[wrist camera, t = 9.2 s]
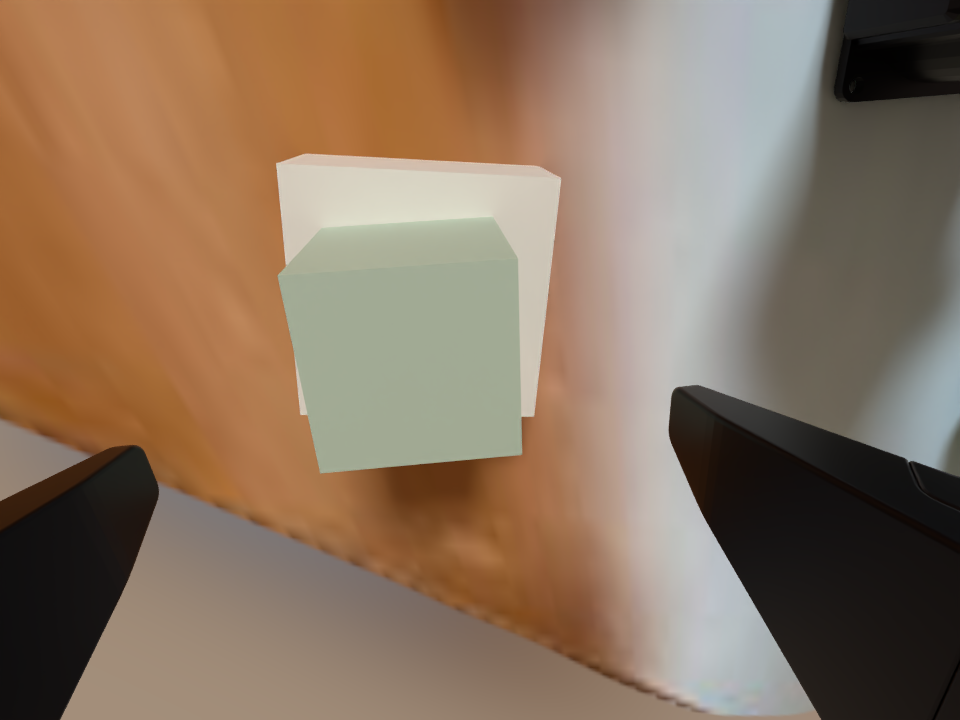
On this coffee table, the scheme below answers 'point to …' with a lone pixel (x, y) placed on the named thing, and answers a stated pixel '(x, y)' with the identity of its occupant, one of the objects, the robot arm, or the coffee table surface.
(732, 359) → the coffee table surface
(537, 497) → the coffee table surface
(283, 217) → the base block
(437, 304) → the green cube
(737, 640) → the coffee table surface
